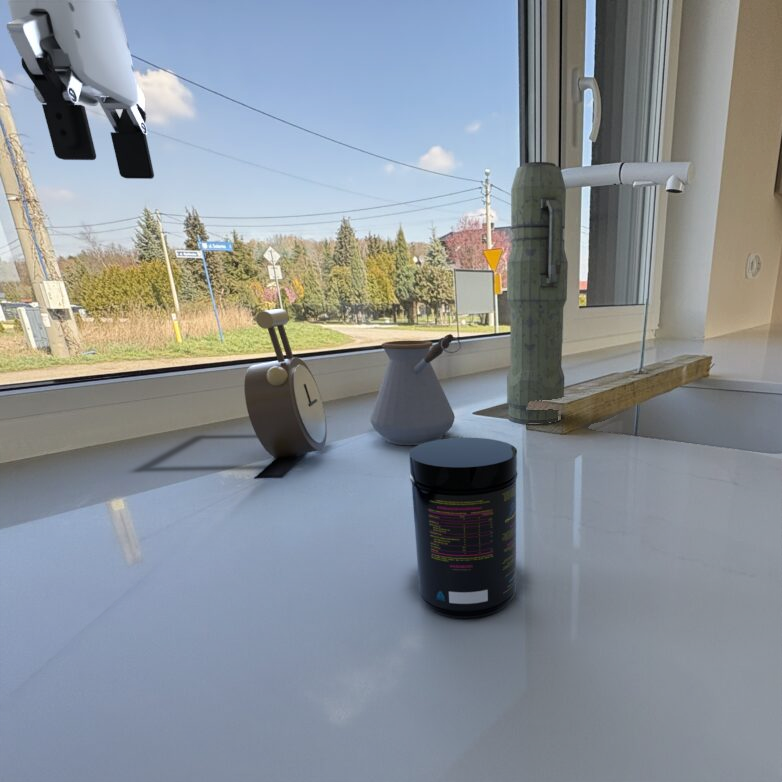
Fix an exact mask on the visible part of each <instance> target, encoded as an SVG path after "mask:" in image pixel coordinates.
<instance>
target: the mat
mask: <svg viewBox="0 0 782 782" xmlns="http://www.w3.org/2000/svg"><path fill="white" fill-rule="evenodd" d="M306 454H307V453H303V454H298V455H292V456H287V457H281V458H277V457H275V458H274V459H273V461H272V462H270V463H269V464H268V465H267V466H266V467H264V469H262V470H261V471H260V472H259V473H257V474H256V476H254V477H253V479H282V478H284V477H285V476H286V475H287V473H289V472H290V471H291V469H292V468H293V467H294V466H295V465H296V464H297V463H299V462H300V460H301V459H302V458H303V457H304V456H306Z"/></svg>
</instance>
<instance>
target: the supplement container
mask: <svg viewBox="0 0 782 782" xmlns="http://www.w3.org/2000/svg"><path fill="white" fill-rule="evenodd" d="M408 458H409V471H410V472H409V473H410V474H409V477H410V479H409V480H410V482H411V491H412V507H413V508H412V509H413V522H414V536H415V550H416V565H417V577H418V579H417V580H418V593H419V596H420V598H421V600H422V602H423V603H424V605H425V606H426V607H427V608H428V609H430V610H431V611H432V612H434V613H435V614H437V615H440V616H443V617H446V618H451V619H459V620H472V619H481V618H484V617H488V616H491V615H494V614H496V613H498V612H500V611H502V610H504V608H505V607H507V606H508V605H509V604H510V602H511V601H512V600H513V598H514V596H515V595H516V591H517V479H518V450H517V448H516V447H515V446H514V445H513V444H510V443H509V442H505V441H502V440H497V439H492V438H485V437H451V438H450V437H449V438H441V439H440V440H435V441H430V442H426V443H423V444H420V445H415V446H414V447H412V448H411V449H410V450H409V452H408Z"/></svg>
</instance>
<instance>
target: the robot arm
mask: <svg viewBox="0 0 782 782" xmlns="http://www.w3.org/2000/svg"><path fill="white" fill-rule="evenodd" d="M7 2H8V7H9V13H10V17H11V21H10V22H7V23H6V30H7V32H8V34H9V35H8V36H9V37H10V39H11V41H12V42H13V44H14V46H15V49H16V51H17V53H18V55H19V56H20V59H21V60H20V61H21V67H22V69H23V71H24V72H25V73H26V74H27V76H28V78H29V79H30V80H31V82H32V83H33V93H34V96H35V97H36V99H37V101H39V102H40V103H41V106H42V110H43V113H44V119H45V122H46V125H47V129H48V133H49V137H50V140H51V145H52V148H53V152H54V155H55V157H56V158H57V159H60V160H63V161H95V160H96V159H97V153H96V149H95V144H94V141H93V135H92V132H91V127H90V124H89V119H88V116H87V115H88V114H87V110H86V107H85V106H84V105H86V106H89V107H96V106H98V105H100V107H101V109H102V110H103V111H104V115H106V118H107V119H108V122H109V123H110V125H111V127H112V128H113V130H114V131H113V132H112V131H111V132H110V137H111V142H112V146H113V151H114V154H115V159H116V163H117V168H118V172H119V176H120V177H122V178H124V179H127V180H128V179H129V180H130V179H132V180H136V179H137V180H139V179H140V180H141V179H142V180H144V179H145V180H151V179H154V178H155V172H154V167H153V162H152V158H151V152H150V148H149V144H148V138H147V135H148V128H147V125H146V122H147V114H146V111H145V100H146V98H145V95H144V92H143V90H142V89H141V88H140V86H139V85H138V83H137V77H136V71H135V67H134V63H133V59H132V54H131V49H130V46H129V41H128V37H127V34H126V30H125V26H124V23H123V19H122V15H121V12H120V8H119V4H118V1H117V0H7ZM78 102H79V103H81V104H78ZM82 104H84V105H82ZM117 110H122V111H121V114H120V116H119V114H118V112H117Z"/></svg>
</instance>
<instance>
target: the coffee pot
mask: <svg viewBox="0 0 782 782" xmlns="http://www.w3.org/2000/svg"><path fill="white" fill-rule="evenodd" d="M453 339H454V340H456V341H457V342H458V345H459V347H458V349H456V350H454V351H449V350H447V349H448V348H449V347H450V344H451V343H452V341H453ZM380 346H381V348H383V349H384V351H385V353H386V355H387V357H388V358H389V360H388V363H387V366H386V369H385V373H384V376H383V378H382V381H381V385H380V387H379V391H378V394H377V397H376V400H375V403H374V406H373V409H372V412H371V415H370V420H369V421H370V423H371V425H372V428H373V429H374V431H375V432H376V433H378V434H379V435H380V436H381V437H383V438H385V440H386V442H388V443H390V444H394V445H400V446H418V445H420V444H423V443H426V442H430V441H435V440H441V439H443V435H446V434H447V433H448V432H449V431H450V430H451V428H452V427H453V424H454V423H455V419H456V417H455V413H454V410H453V409H452V407H451V404H450V401H449V400H448V397H447V396H446V394H445V391H444V390H443V387H442V385H441V383H440V381H439V378H438V376H437V374H436V372H435V370H434V368H433V365H432V361H433V360H435V359H436V358H438V357H439V356H440V355H442V354H443V352H446V353H448V354H455V353H457V352H458V351H459V350H461V348H462V347H461V346H462V343H461V342H460V340H459V339H458V338H457V337H455V336H453V334H452V333H449V334H447V335H445V336H443V337H440V338H439V340H438V342H437V343H435V344H434V343H433V342H432V341H428V340H394V341H386V342H383V343H381V345H380Z"/></svg>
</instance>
